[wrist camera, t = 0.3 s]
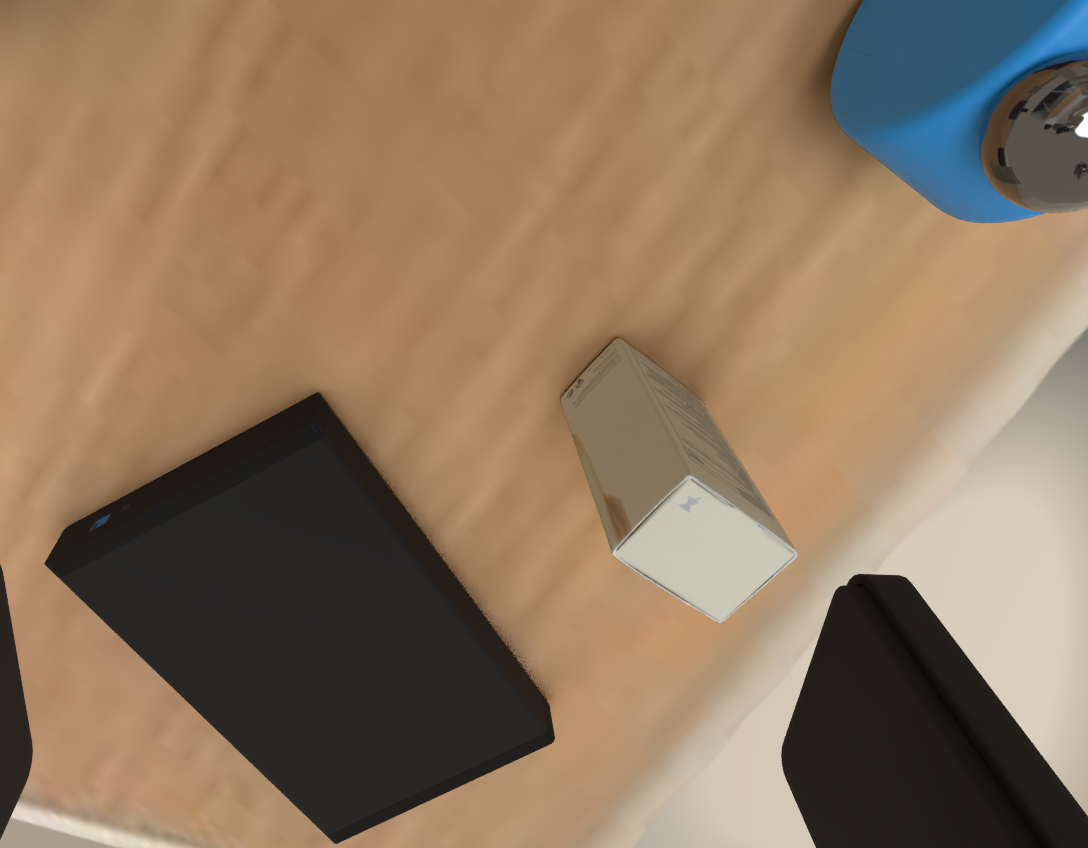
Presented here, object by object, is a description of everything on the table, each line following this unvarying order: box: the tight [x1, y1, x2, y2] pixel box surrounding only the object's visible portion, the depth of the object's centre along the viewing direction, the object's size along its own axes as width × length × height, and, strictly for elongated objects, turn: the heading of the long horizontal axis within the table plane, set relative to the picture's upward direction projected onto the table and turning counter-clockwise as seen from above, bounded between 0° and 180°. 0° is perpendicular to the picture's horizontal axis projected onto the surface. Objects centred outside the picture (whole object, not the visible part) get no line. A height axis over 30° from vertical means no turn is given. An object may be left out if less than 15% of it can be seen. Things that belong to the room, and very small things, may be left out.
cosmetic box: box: [560, 338, 797, 623], centre depth 39 cm, size 6×4×12 cm
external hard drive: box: [45, 393, 555, 844], centre depth 47 cm, size 14×23×3 cm, turn 27°
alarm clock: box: [831, 0, 1088, 223], centre depth 31 cm, size 13×6×15 cm, turn 145°
